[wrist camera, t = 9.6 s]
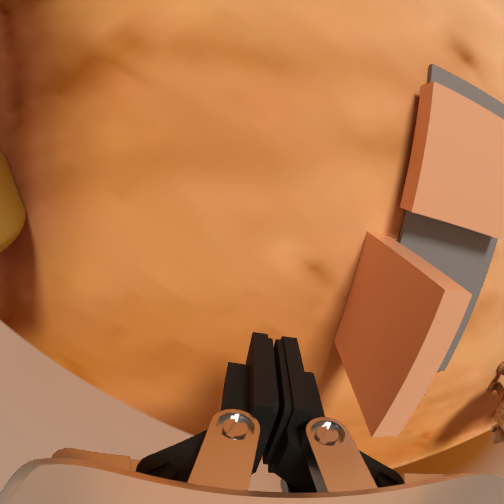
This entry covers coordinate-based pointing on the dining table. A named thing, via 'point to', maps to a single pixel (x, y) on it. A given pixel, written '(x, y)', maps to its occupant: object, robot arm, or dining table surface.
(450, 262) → the felt mat
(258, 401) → the robot arm
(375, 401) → the tile
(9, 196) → the flower pot
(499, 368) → the lion figurine
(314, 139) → the dining table surface
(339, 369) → the dining table surface
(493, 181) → the tile
